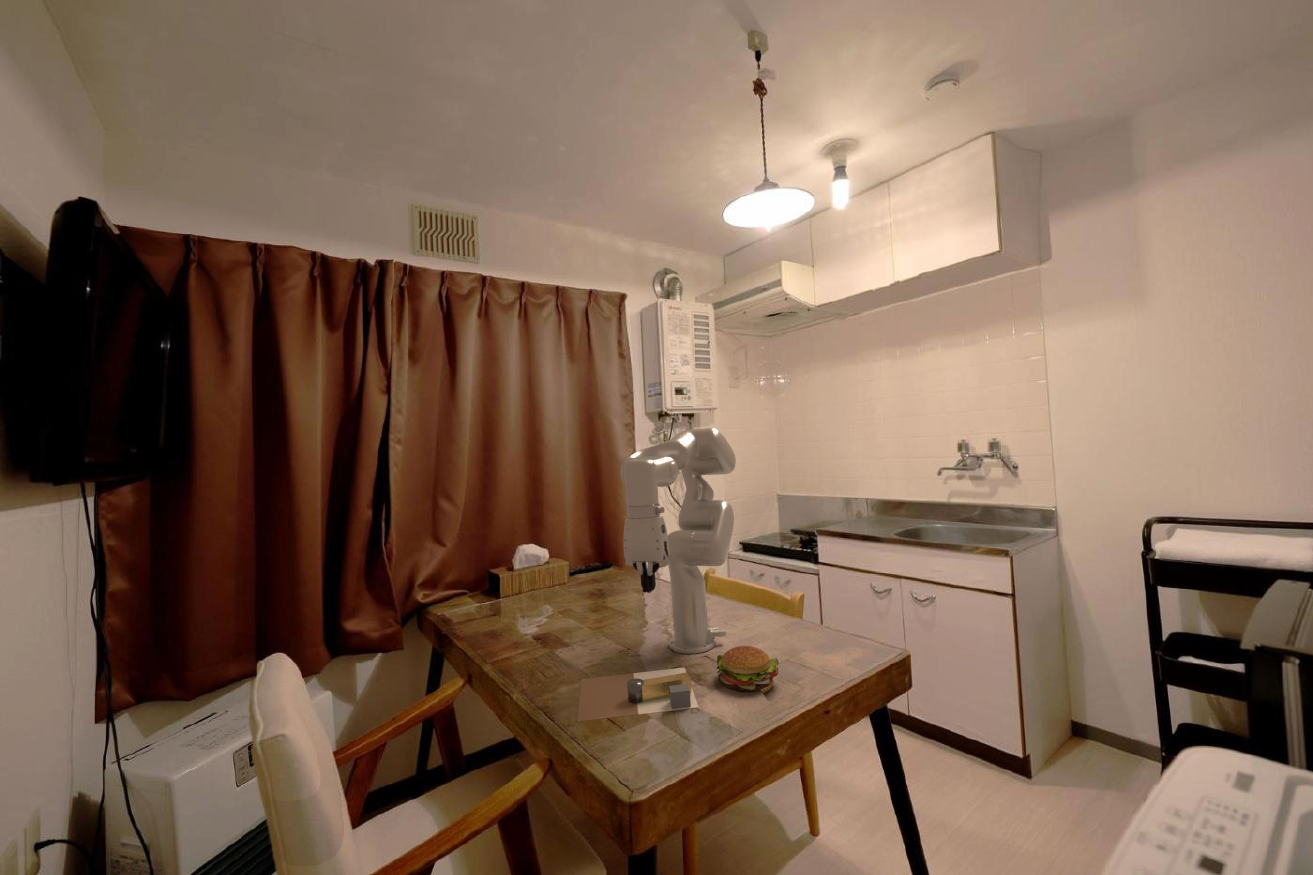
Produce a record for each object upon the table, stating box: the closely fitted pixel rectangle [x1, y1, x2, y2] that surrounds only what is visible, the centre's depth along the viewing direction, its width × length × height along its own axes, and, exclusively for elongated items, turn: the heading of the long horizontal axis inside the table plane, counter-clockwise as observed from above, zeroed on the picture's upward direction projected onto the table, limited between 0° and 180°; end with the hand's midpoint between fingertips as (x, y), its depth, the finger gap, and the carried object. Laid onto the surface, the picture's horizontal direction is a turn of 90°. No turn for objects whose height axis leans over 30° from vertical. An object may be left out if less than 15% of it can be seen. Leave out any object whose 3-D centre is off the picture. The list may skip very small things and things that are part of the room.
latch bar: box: [627, 672, 693, 703], centre depth 112 cm, size 14×4×4 cm, turn 102°
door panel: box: [576, 667, 699, 723], centre depth 114 cm, size 25×19×5 cm
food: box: [716, 645, 780, 694], centre depth 117 cm, size 14×14×8 cm
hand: (648, 590), depth 119 cm, fingers closed
